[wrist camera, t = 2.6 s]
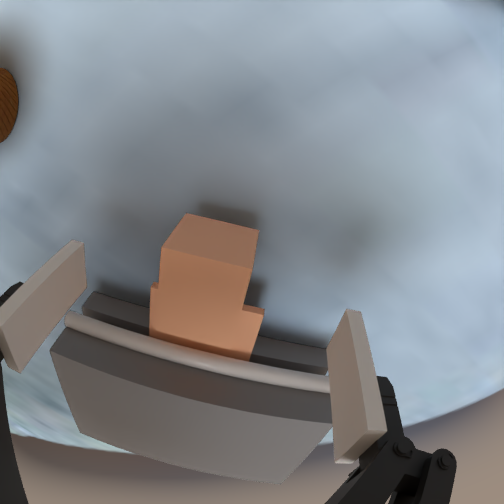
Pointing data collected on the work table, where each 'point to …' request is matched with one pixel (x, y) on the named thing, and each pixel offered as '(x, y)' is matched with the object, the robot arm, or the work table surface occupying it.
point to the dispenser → (191, 395)
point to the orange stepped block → (206, 288)
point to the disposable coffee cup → (7, 103)
